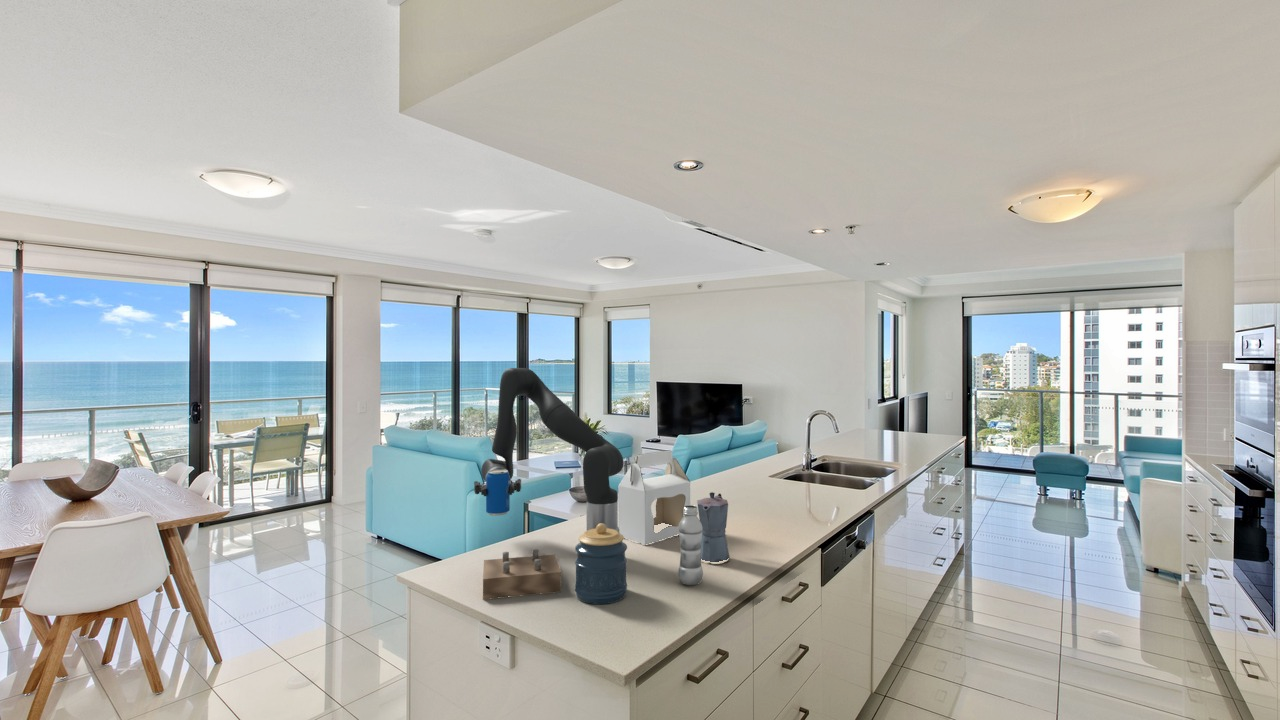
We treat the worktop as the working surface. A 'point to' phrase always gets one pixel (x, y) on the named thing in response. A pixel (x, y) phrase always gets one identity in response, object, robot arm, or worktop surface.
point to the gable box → (652, 498)
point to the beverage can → (497, 492)
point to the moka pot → (713, 528)
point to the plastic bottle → (690, 547)
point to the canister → (601, 566)
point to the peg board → (521, 575)
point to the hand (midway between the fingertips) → (498, 491)
